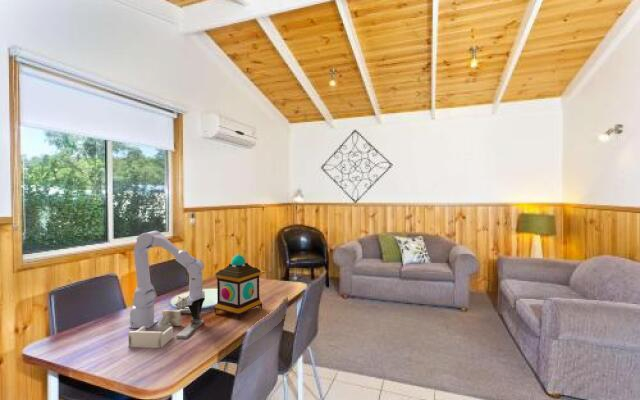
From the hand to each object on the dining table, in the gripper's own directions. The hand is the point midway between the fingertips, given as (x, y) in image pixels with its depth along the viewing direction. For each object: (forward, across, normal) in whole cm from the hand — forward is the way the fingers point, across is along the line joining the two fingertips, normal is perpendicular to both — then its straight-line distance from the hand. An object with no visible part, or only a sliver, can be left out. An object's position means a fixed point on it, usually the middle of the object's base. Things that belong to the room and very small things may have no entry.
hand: (196, 315), depth 146 cm
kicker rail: (+4, -6, 0) cm, 7 cm away
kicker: (+4, 0, +6) cm, 8 cm away
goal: (+4, -17, +11) cm, 21 cm away
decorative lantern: (+5, +17, -15) cm, 23 cm away
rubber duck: (+5, -8, +11) cm, 14 cm away
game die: (+5, +16, +14) cm, 22 cm away
